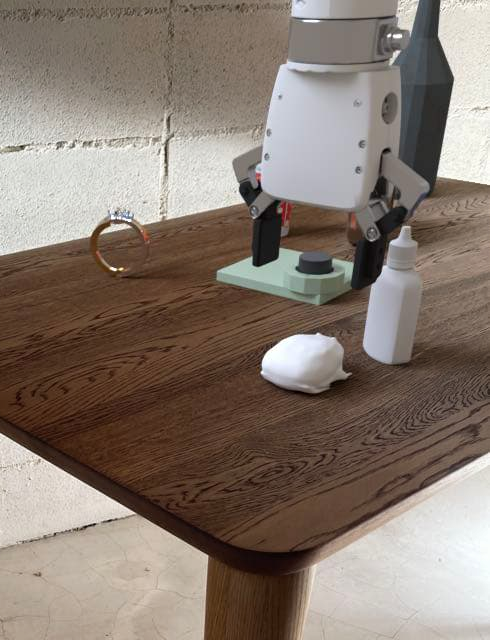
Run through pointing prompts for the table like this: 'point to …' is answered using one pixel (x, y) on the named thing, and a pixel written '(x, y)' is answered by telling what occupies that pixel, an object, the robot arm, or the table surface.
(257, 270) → the scale
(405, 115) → the bottle
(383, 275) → the eye dropper bottle
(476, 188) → the table surface
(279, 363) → the garlic
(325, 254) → the button
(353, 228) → the tin
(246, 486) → the table surface
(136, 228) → the ring
